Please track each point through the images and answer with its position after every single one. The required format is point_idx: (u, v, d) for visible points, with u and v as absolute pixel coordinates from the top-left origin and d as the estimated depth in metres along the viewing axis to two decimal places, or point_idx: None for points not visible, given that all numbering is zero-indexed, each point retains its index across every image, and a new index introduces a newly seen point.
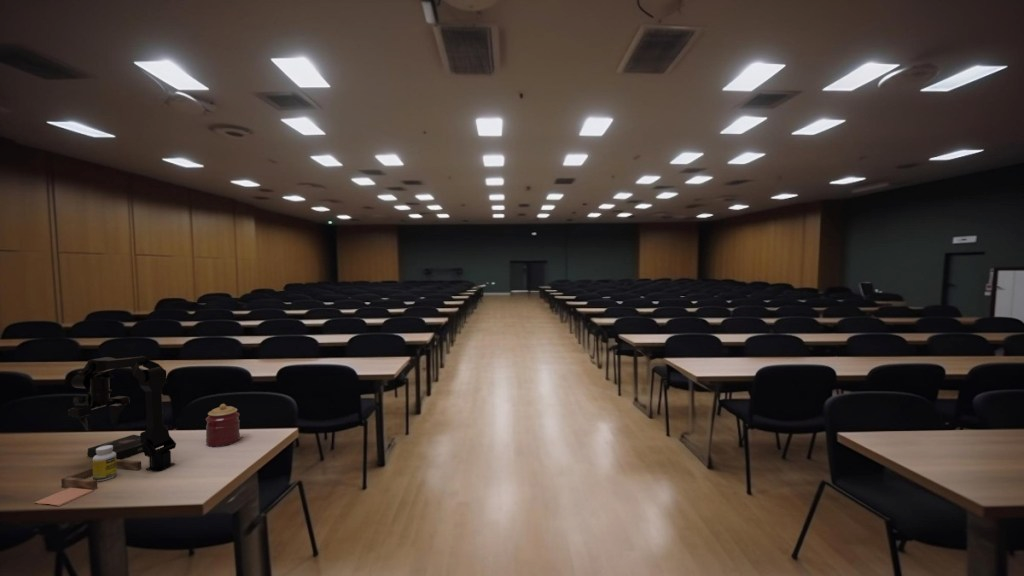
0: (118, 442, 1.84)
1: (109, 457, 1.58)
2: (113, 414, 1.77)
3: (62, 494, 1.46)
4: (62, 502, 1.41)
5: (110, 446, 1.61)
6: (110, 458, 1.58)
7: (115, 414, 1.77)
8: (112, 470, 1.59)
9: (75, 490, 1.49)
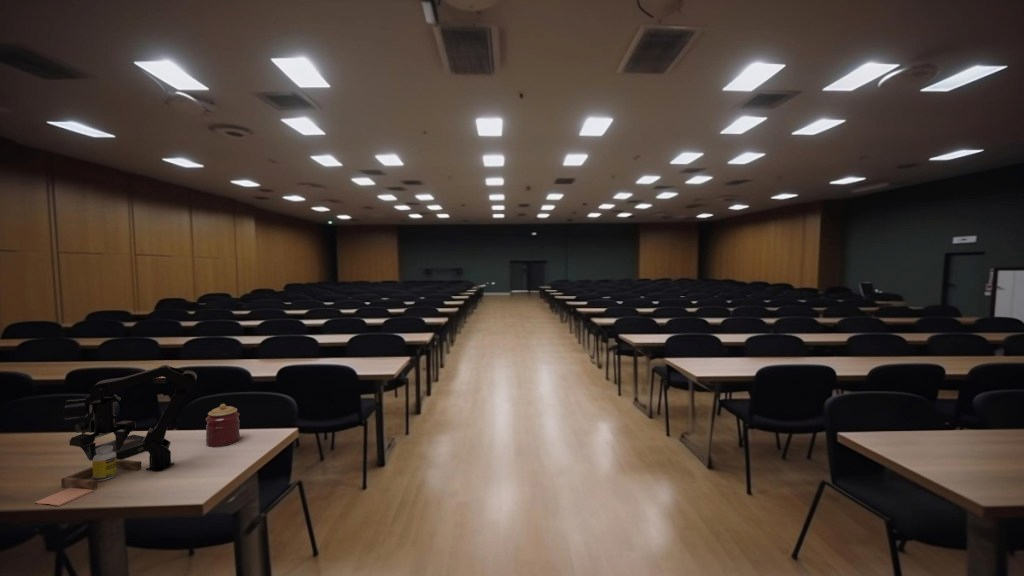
0: None
1: (109, 457, 1.58)
2: (118, 441, 1.64)
3: (62, 494, 1.46)
4: (62, 502, 1.41)
5: (110, 446, 1.61)
6: (110, 458, 1.58)
7: (120, 441, 1.64)
8: (112, 470, 1.59)
9: (75, 490, 1.49)
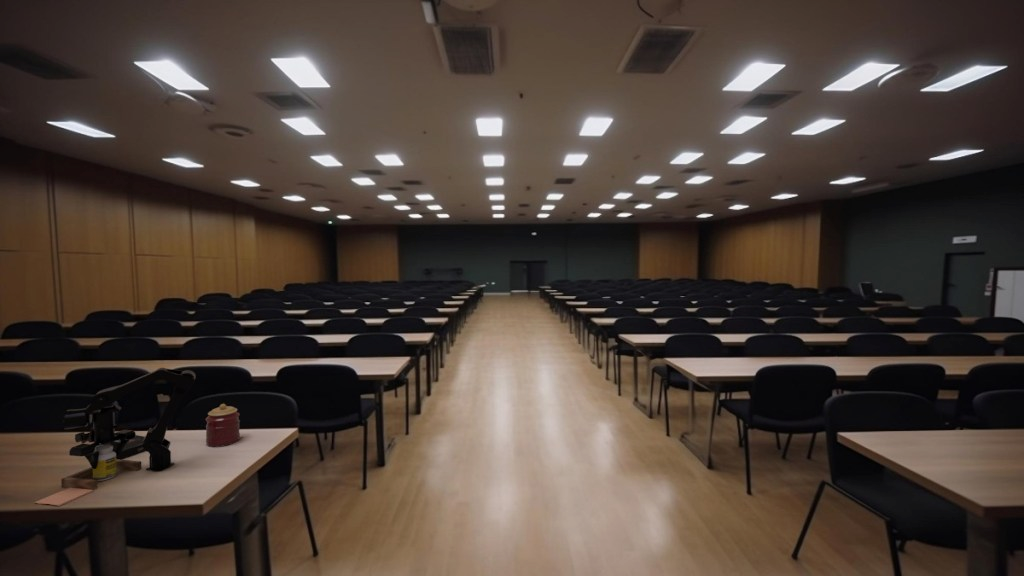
0: None
1: (109, 457, 1.58)
2: (115, 451, 1.63)
3: (62, 494, 1.46)
4: (62, 502, 1.41)
5: (110, 446, 1.61)
6: (110, 458, 1.58)
7: (117, 451, 1.63)
8: (112, 470, 1.59)
9: (75, 490, 1.49)
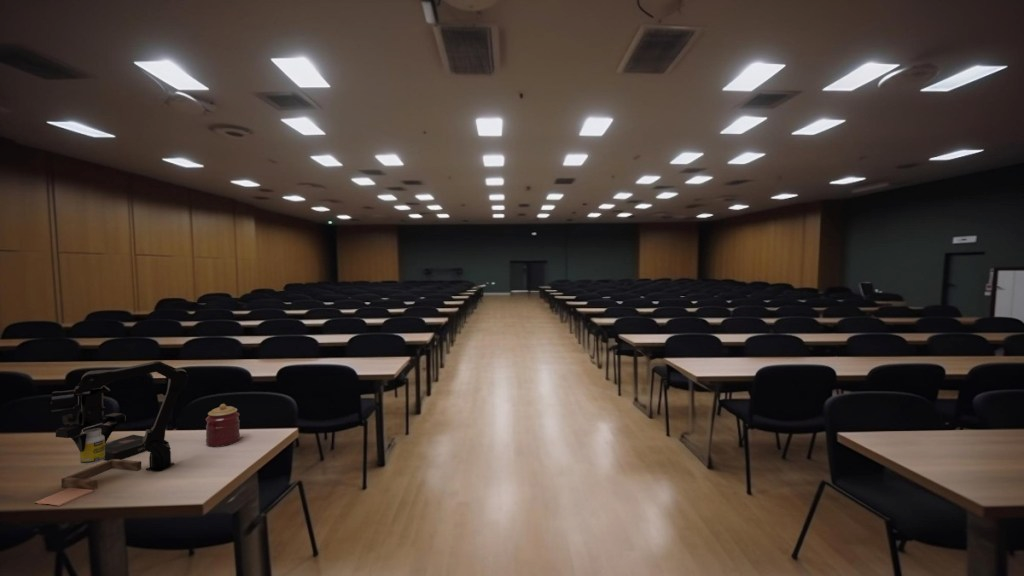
0: (118, 442, 1.84)
1: (97, 440, 1.54)
2: (103, 434, 1.58)
3: (62, 494, 1.46)
4: (62, 502, 1.41)
5: (99, 429, 1.56)
6: (98, 441, 1.54)
7: (106, 435, 1.58)
8: (100, 454, 1.55)
9: (75, 490, 1.49)
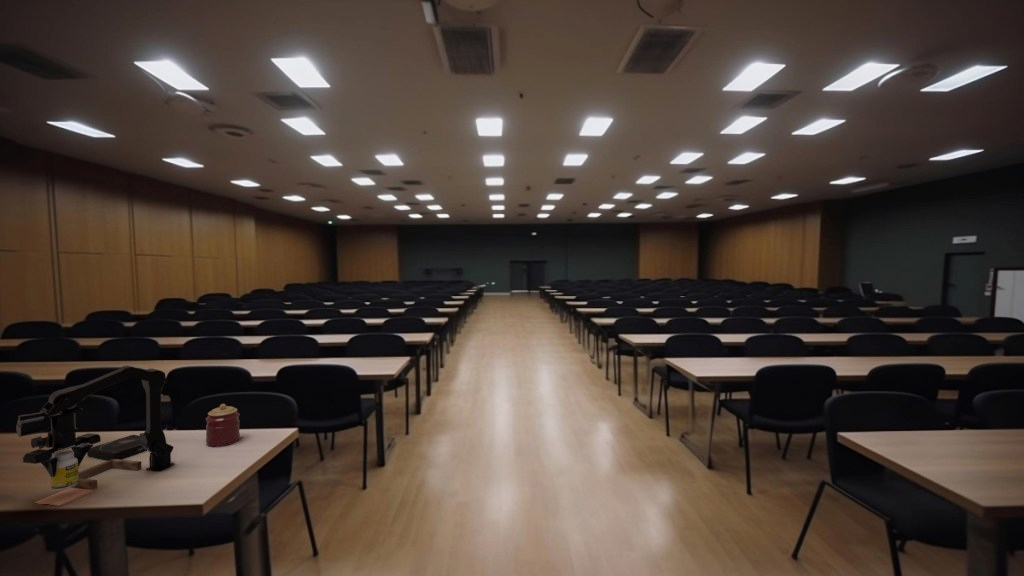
0: (118, 442, 1.84)
1: (69, 464, 1.44)
2: (77, 457, 1.49)
3: (62, 494, 1.46)
4: (62, 502, 1.41)
5: (71, 451, 1.46)
6: (70, 465, 1.44)
7: (79, 457, 1.49)
8: (73, 478, 1.45)
9: (75, 490, 1.49)
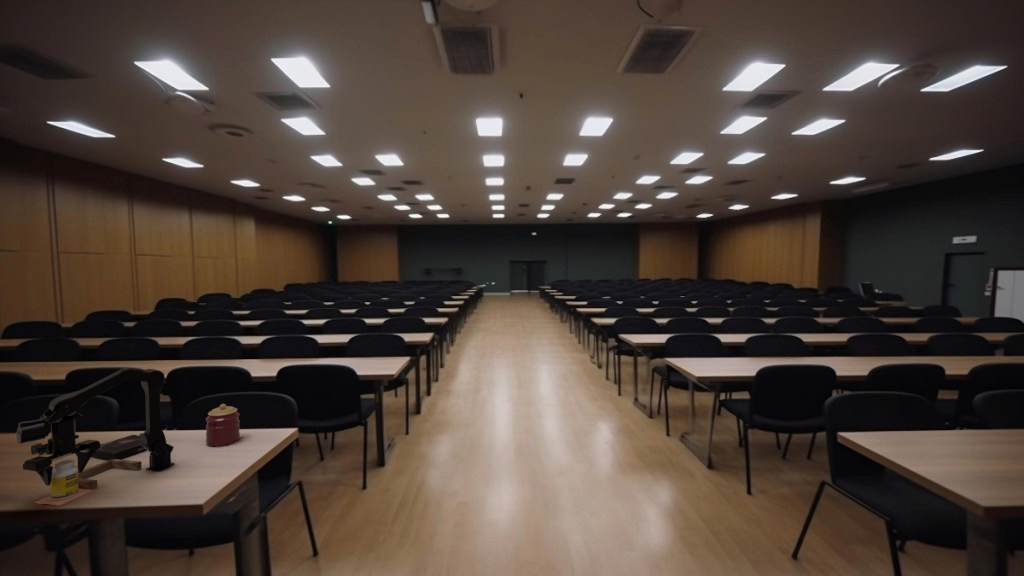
0: (118, 442, 1.84)
1: (69, 473, 1.44)
2: (80, 462, 1.50)
3: None
4: (62, 502, 1.41)
5: (71, 460, 1.47)
6: (70, 474, 1.44)
7: (83, 462, 1.50)
8: (73, 488, 1.45)
9: None
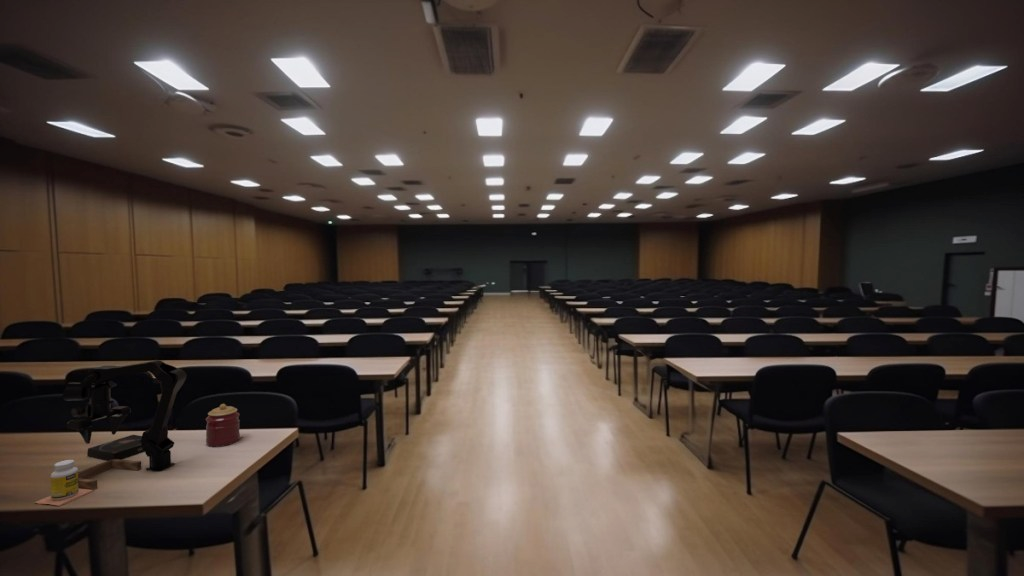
0: (118, 442, 1.84)
1: (69, 473, 1.44)
2: (114, 425, 1.69)
3: None
4: (62, 502, 1.41)
5: (71, 460, 1.47)
6: (70, 474, 1.44)
7: (116, 425, 1.68)
8: (73, 488, 1.45)
9: None
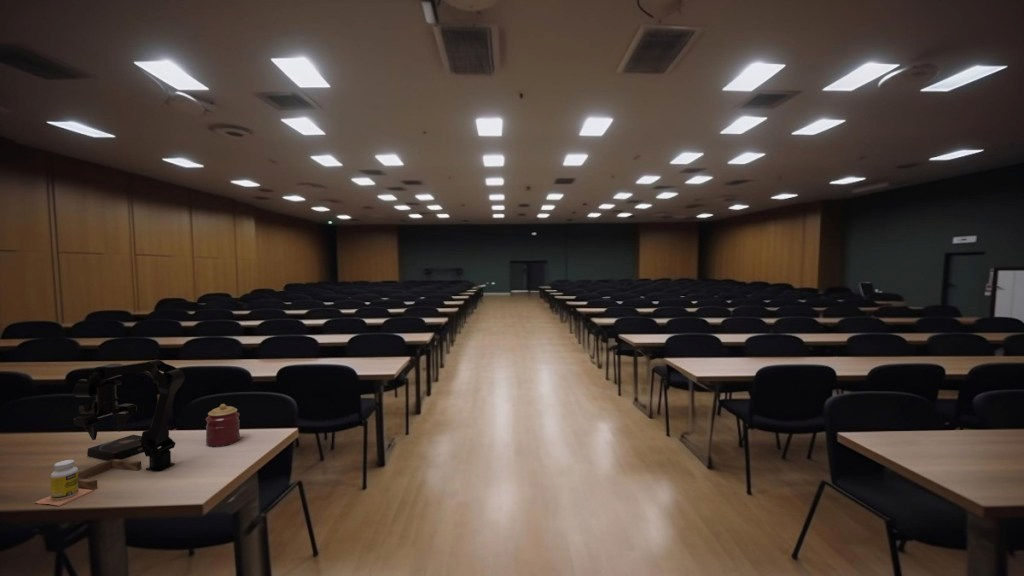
0: (118, 442, 1.84)
1: (69, 473, 1.44)
2: (120, 422, 1.72)
3: None
4: (62, 502, 1.41)
5: (71, 460, 1.47)
6: (70, 474, 1.44)
7: (122, 422, 1.72)
8: (73, 488, 1.45)
9: None
